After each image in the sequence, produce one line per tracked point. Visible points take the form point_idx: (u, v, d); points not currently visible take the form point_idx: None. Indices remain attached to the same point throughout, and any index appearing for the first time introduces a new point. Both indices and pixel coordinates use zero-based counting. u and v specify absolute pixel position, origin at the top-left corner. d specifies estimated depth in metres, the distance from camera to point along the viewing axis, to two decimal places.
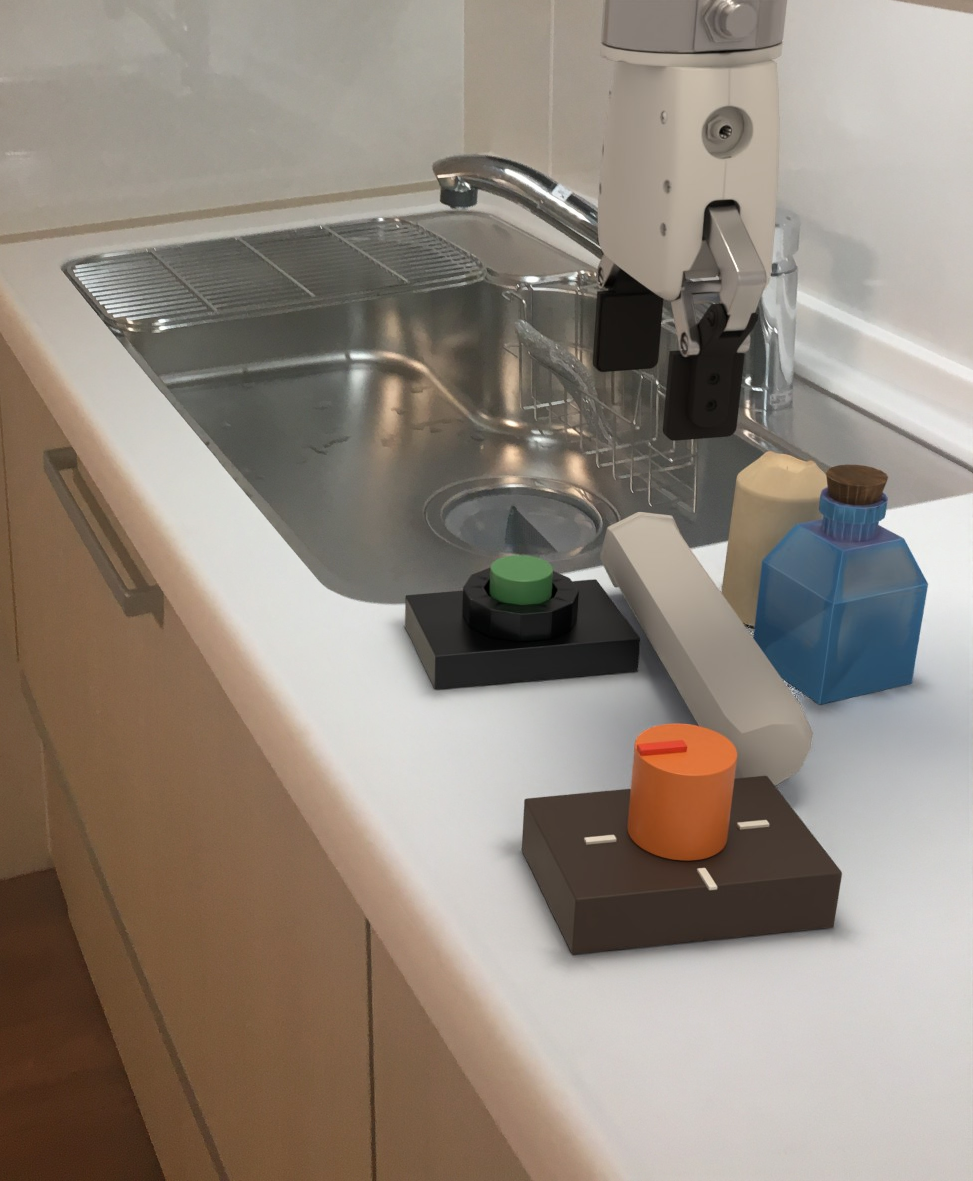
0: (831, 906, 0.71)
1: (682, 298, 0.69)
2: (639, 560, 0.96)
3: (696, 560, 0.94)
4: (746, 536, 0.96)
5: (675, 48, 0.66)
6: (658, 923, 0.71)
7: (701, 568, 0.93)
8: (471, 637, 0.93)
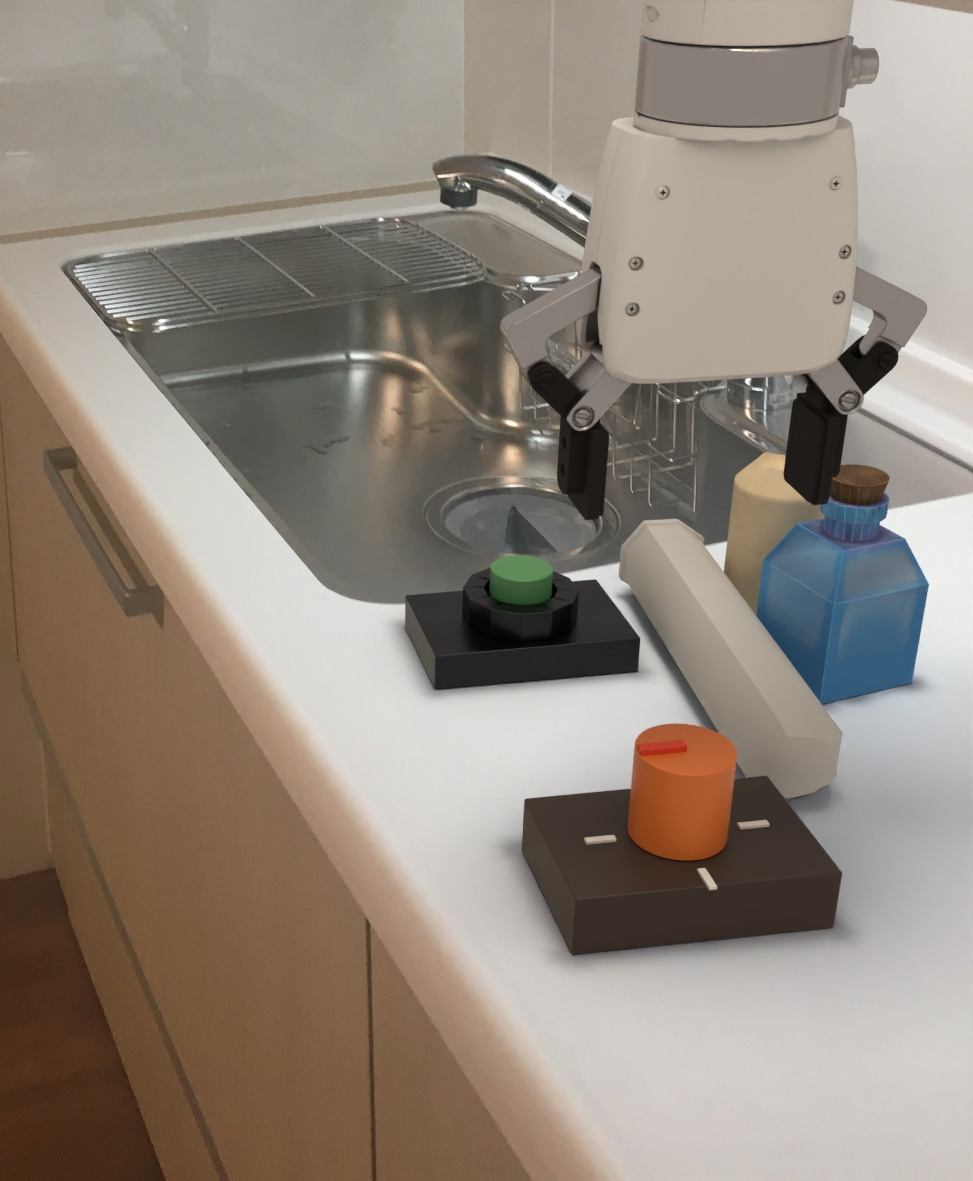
0: (831, 906, 0.71)
1: (837, 360, 0.65)
2: (677, 559, 0.96)
3: (729, 580, 0.95)
4: (744, 537, 0.96)
5: (838, 108, 0.60)
6: (658, 923, 0.71)
7: (735, 588, 0.94)
8: (471, 637, 0.93)
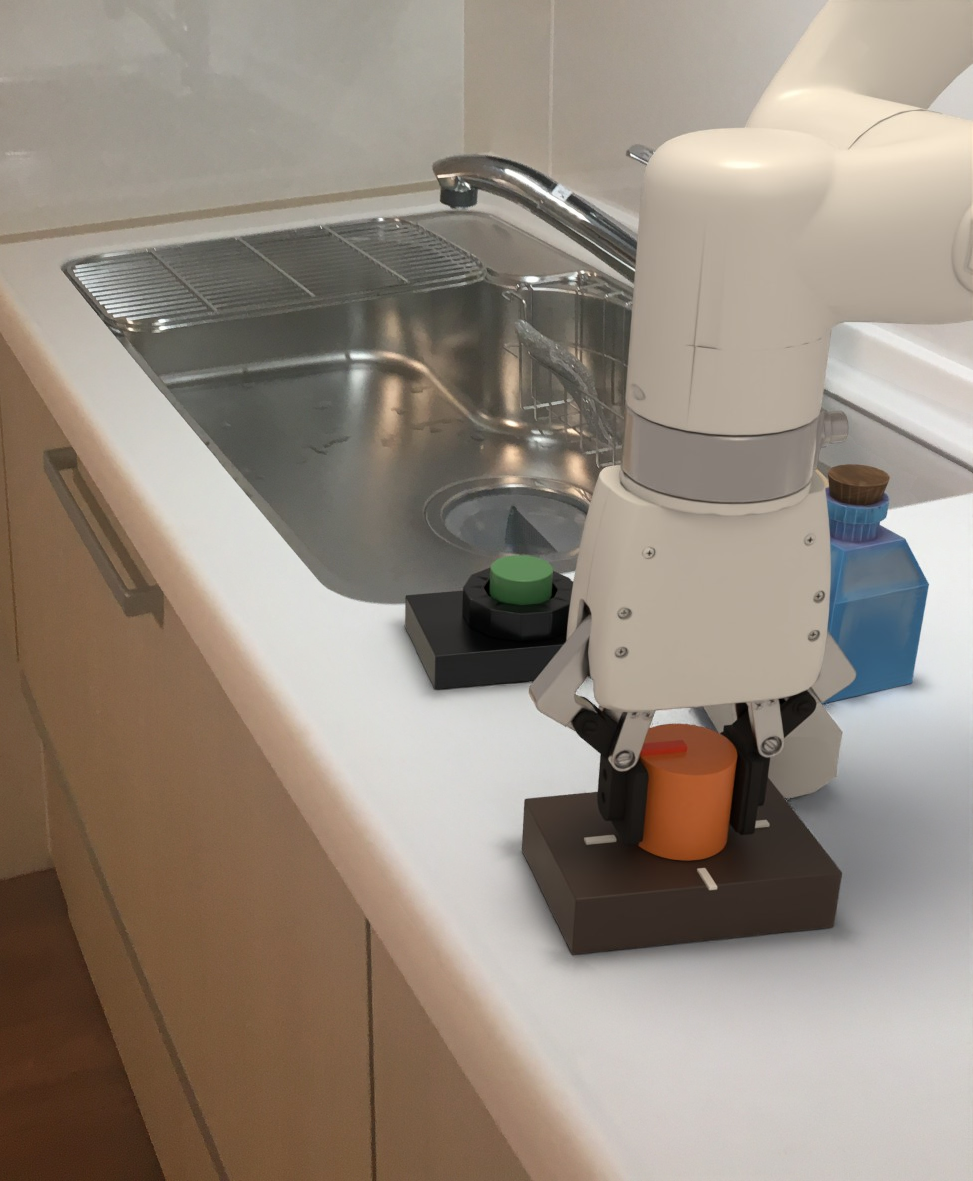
0: (831, 906, 0.71)
1: (778, 707, 0.70)
2: None
3: None
4: None
5: (811, 474, 0.64)
6: (658, 923, 0.71)
7: None
8: (471, 637, 0.93)
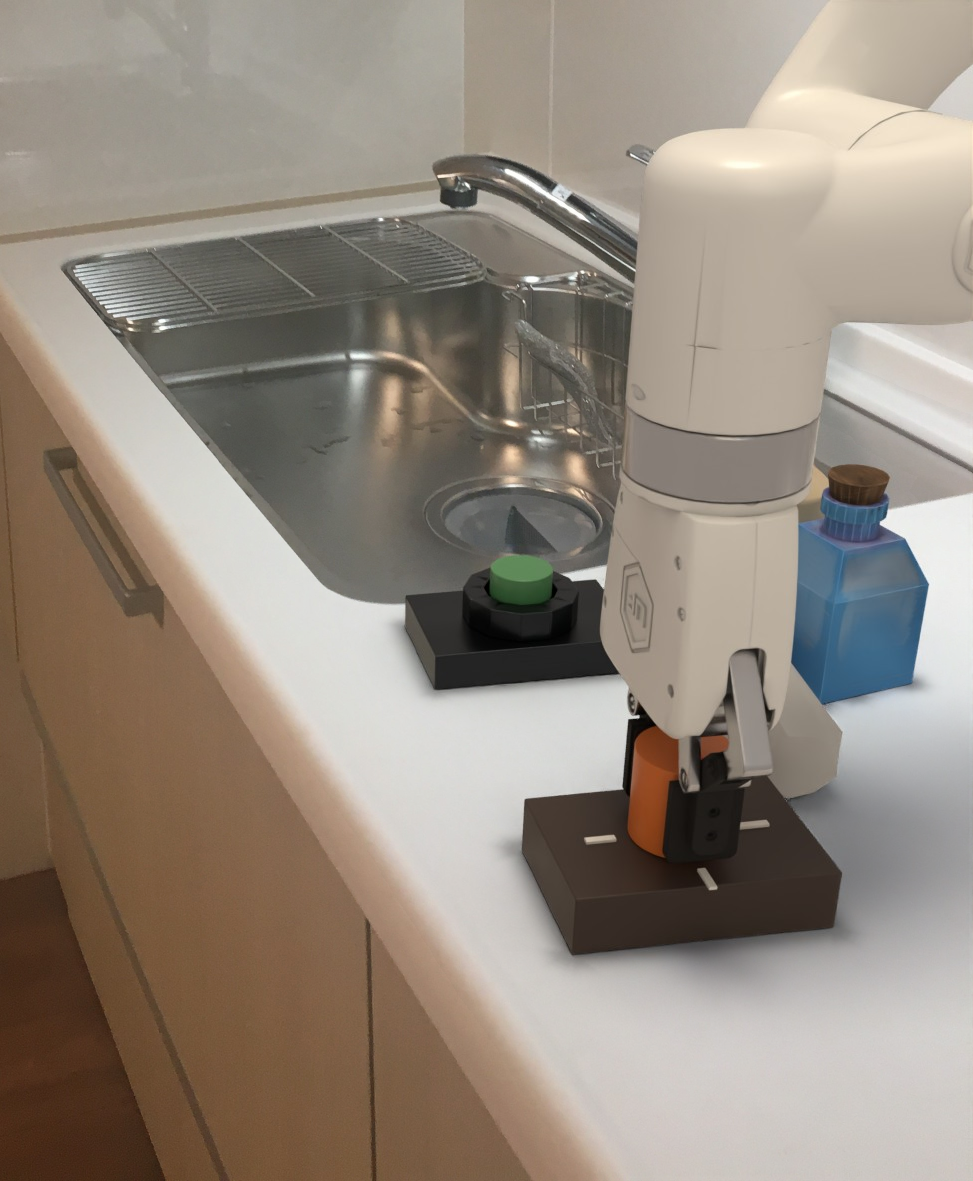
0: (831, 906, 0.71)
1: None
2: None
3: None
4: None
5: None
6: (658, 923, 0.71)
7: None
8: (471, 637, 0.93)
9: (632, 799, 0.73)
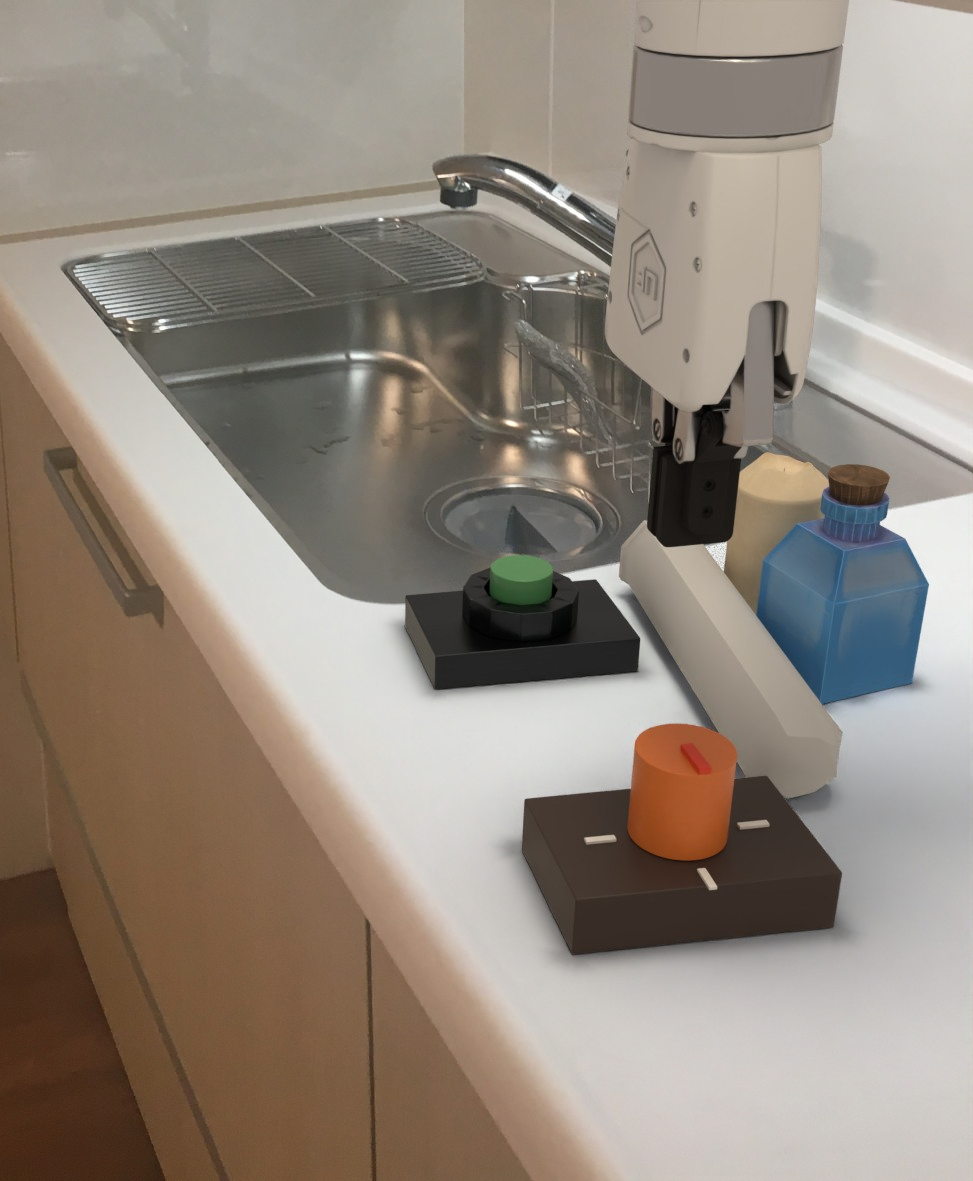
0: (831, 906, 0.71)
1: None
2: (677, 559, 0.96)
3: (729, 580, 0.95)
4: (742, 538, 0.96)
5: None
6: (658, 923, 0.71)
7: (735, 588, 0.94)
8: (471, 637, 0.93)
9: (632, 799, 0.73)
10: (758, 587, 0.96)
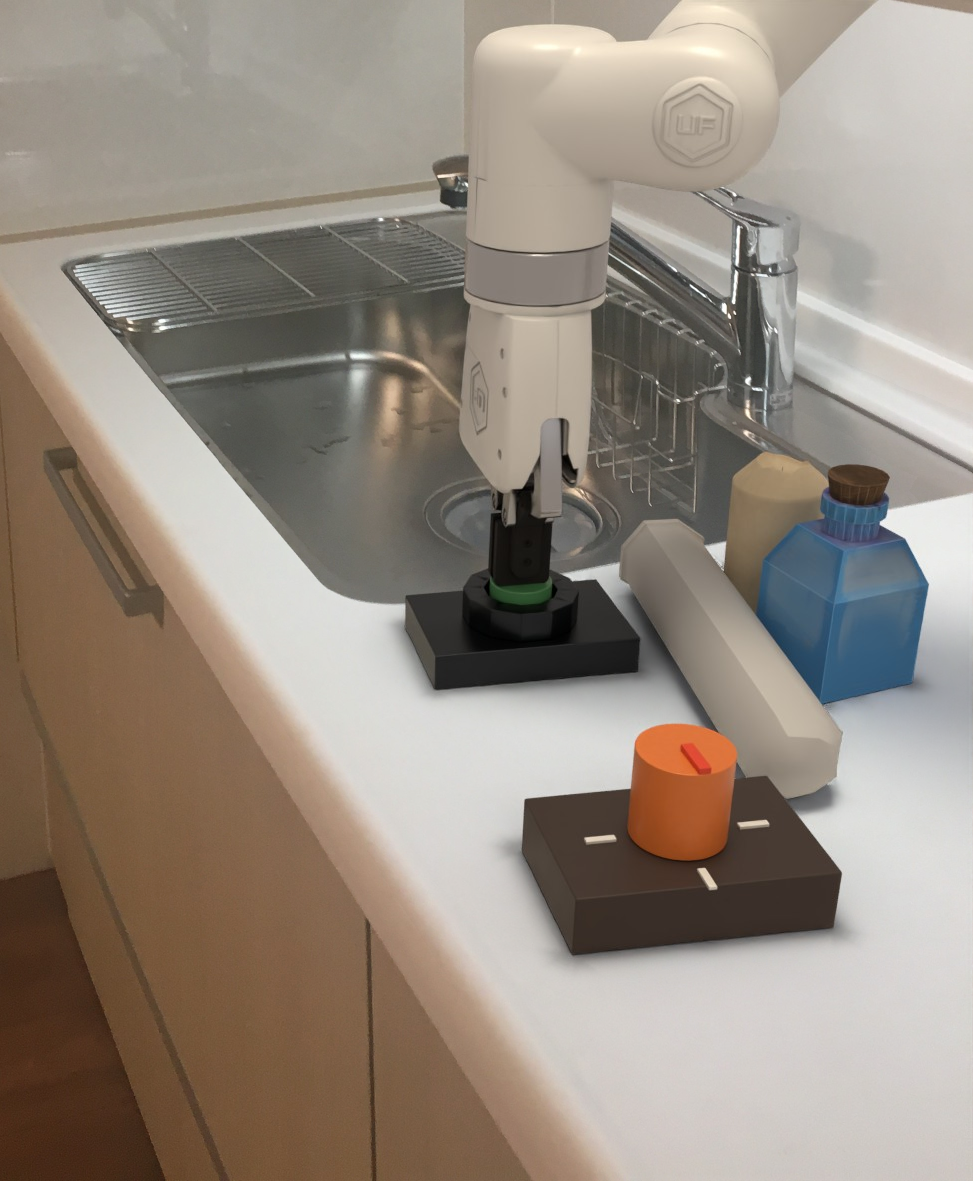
0: (831, 906, 0.71)
1: None
2: (677, 559, 0.96)
3: (729, 580, 0.95)
4: (741, 537, 0.96)
5: None
6: (658, 923, 0.71)
7: (735, 588, 0.94)
8: (471, 637, 0.93)
9: (632, 799, 0.73)
10: (757, 586, 0.96)
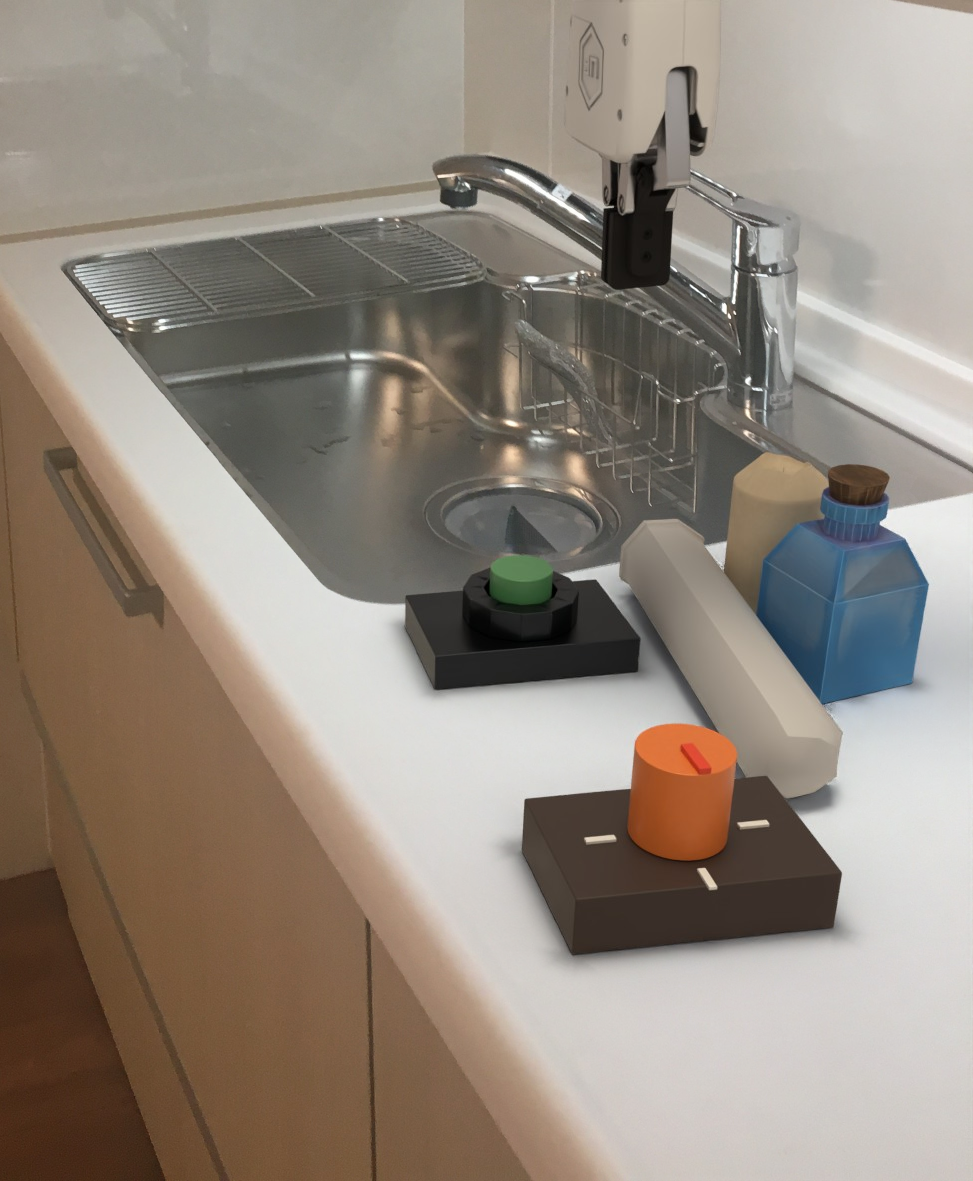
0: (831, 906, 0.71)
1: None
2: (677, 559, 0.96)
3: (729, 580, 0.95)
4: (741, 538, 0.96)
5: None
6: (658, 923, 0.71)
7: (735, 588, 0.94)
8: (471, 637, 0.93)
9: (632, 799, 0.73)
10: (757, 587, 0.96)
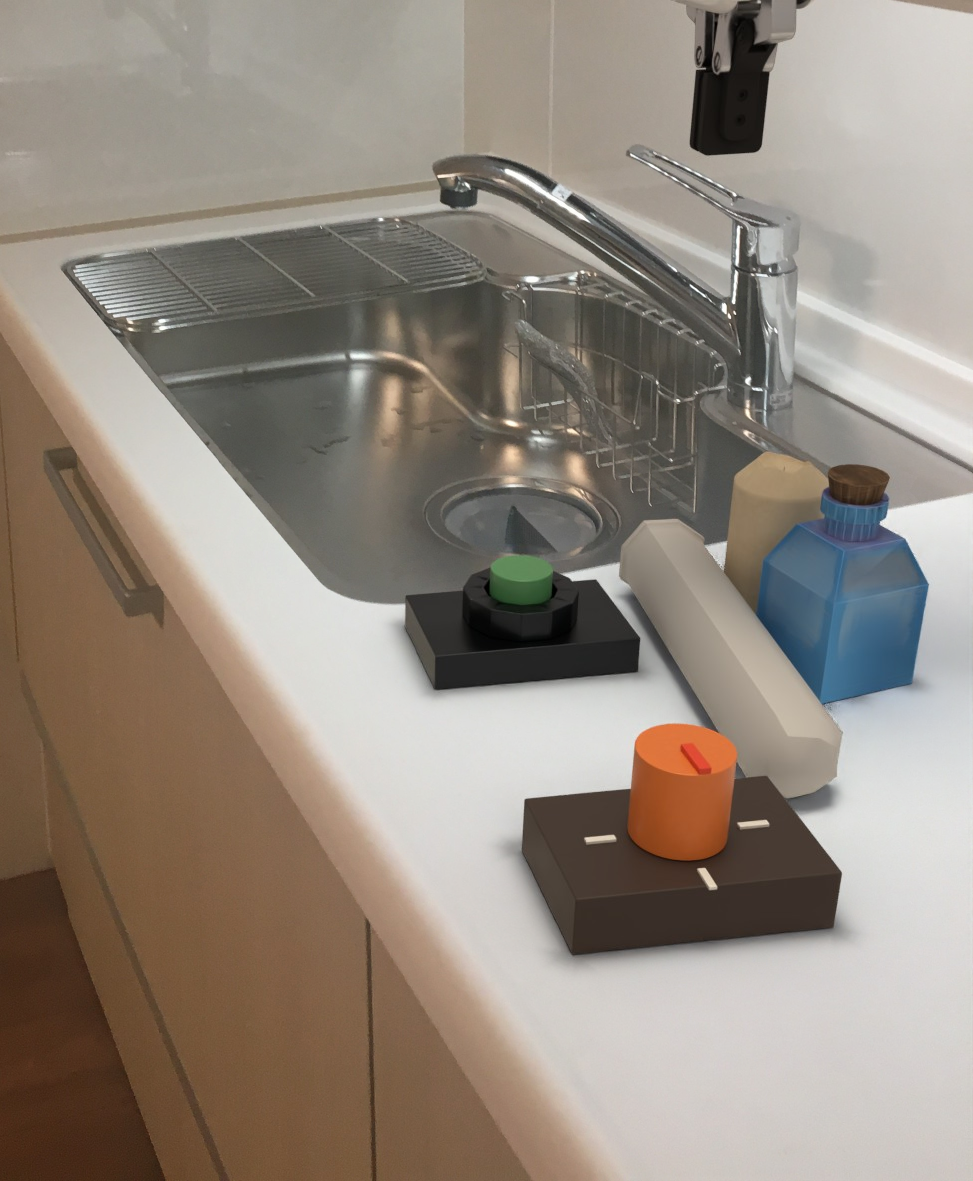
0: (831, 906, 0.71)
1: None
2: (677, 559, 0.96)
3: (729, 580, 0.95)
4: (742, 536, 0.96)
5: None
6: (658, 923, 0.71)
7: (735, 588, 0.94)
8: (471, 637, 0.93)
9: (632, 799, 0.73)
10: (757, 586, 0.96)
